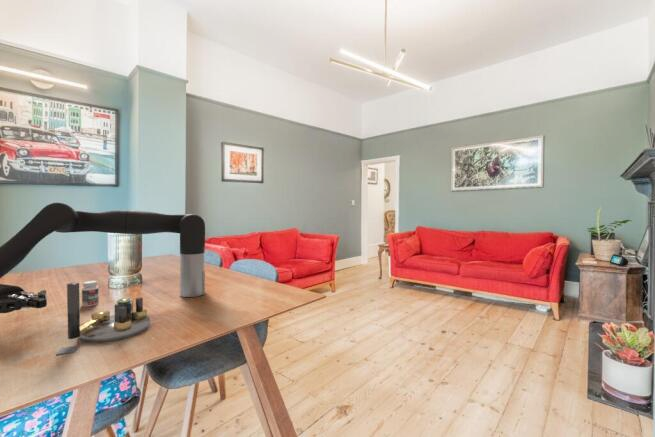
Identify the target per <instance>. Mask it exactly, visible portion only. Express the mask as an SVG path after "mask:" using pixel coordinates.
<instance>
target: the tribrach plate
mask: <svg viewBox="0 0 655 437" xmlns="http://www.w3.org/2000/svg"><path fill="white" fill-rule="evenodd" d="M143 300H144V299H143V297H136V298H135V309H134V299H131V298H130V297H124V298H119V299H117V301H116V302H115V304H114V314H110V319H109V320H107V321H104V322H100V323H98V324H97V325H95V326H94V327H92V328H91V329H89V330H88V331H86V332H85V333H83V334H82V335H80V337H78V339H79V341H81V342H82V343H83V342H84V343H87V344H104V343H111V342H117V341H123V340H126V339H129V338H132V337H134V336H137V335H139V334H142V333H143V332H145V331H147V330H148V329H149V328H150V326H151V319H150V318H151V317H150V315H148V309H145V308H143V304H144V303H143V302H144V301H143Z"/></svg>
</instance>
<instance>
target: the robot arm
mask: <svg viewBox="0 0 655 437" xmlns="http://www.w3.org/2000/svg"><path fill="white" fill-rule="evenodd" d="M54 232H55V233H61V234H62V233H83V232H84V233H85V232H87V233H88V232H89V233H90V232H93V233H94V232H98V233H110V234H122V235H151V234H161V233H174V234H179V296H180V297H182V298H194V297H196V298H197V297H200V296H204V295H206V271H205V246H206V223H205V220H204V219H203V217H202V216H200V215H199V214H195V213H185V214H183V213H182V214H165V213H159V212H154V211H146V210H137V209H136V210H135V209H116V210H115V209H114V210H107V211H100V212H94V211H82V210H75V209H74V208H73V207H71V206H70V205H69V204H67V203H65V202H58V201H57V202H52V203H49V204H47V205H46V206H44V207H43V208H42V209H41V210H40V211H39V212H37V213H36V215H34V217H33V218H31V220H30V221H29V222H28V223H26V225H25V226H24V227H22V228H21V229H20V230H19V231H18V232H16V234H14V235H13V236H12V237H11V238H10V239H8V240H7V241H6V242H5V243H4V244H2V245H1V246H0V280H1V279H2V278H3V277H4V276H6V275H7V274H8V273H9V272H11V271H12V270H13V269H15V268H16V267H17V266H18V265H19V264H20V263H22V262H23V261H24V259H25V258H26V257H27V256H28V255H29V254H30V252H31V251H32V250H33V249H34V248H35V247H36V245H38V244H39V243H40V242H41V241H42V240H43V239H45V238H46V237H47V236H49V235H51V234H53V233H54ZM47 300H48V299H47V290H46V289H45V290H43V289H42V290H41V291H37V293H34V292H32V291H31V292H30V291H29V292H28V291H25V289H23V288H22V287H20V286H18V285H13V284H3V283H0V314H8V313H9V314H10V313H11V312H15V311H20V310H22V309H30V308H31V309H32V308H34V309H42V308H45V307H47V304H48V302H47Z"/></svg>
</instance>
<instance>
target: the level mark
mask: <svg viewBox="0 0 655 437" xmlns="http://www.w3.org/2000/svg"><path fill="white" fill-rule="evenodd" d="M79 347H80V345H79V344H78V345H72V346H71V345H70V346H65V347H60V349H59V350H58V351H57V352H56V353H55V356H61V355H67V354H73V353H76V351H77V350H78V349H79Z"/></svg>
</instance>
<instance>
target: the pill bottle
mask: <svg viewBox="0 0 655 437" xmlns="http://www.w3.org/2000/svg"><path fill="white" fill-rule="evenodd" d="M99 303H100V300H99V286H98V281H97V280H87V281H84V282H83V283H82V288H81V305H82V307H85V308H86V307H92V306H94V307H95V306H96V305H99Z"/></svg>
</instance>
